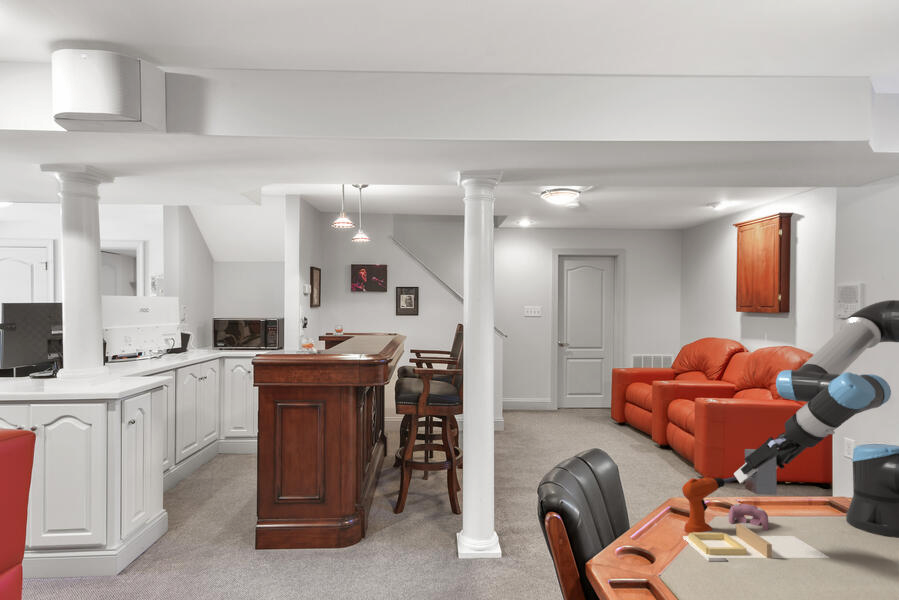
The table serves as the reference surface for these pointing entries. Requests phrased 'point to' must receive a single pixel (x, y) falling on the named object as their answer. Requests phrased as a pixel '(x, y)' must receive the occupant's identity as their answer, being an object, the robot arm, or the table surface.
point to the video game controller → (745, 509)
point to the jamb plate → (749, 546)
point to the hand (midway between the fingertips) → (747, 477)
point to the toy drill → (700, 501)
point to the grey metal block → (762, 477)
